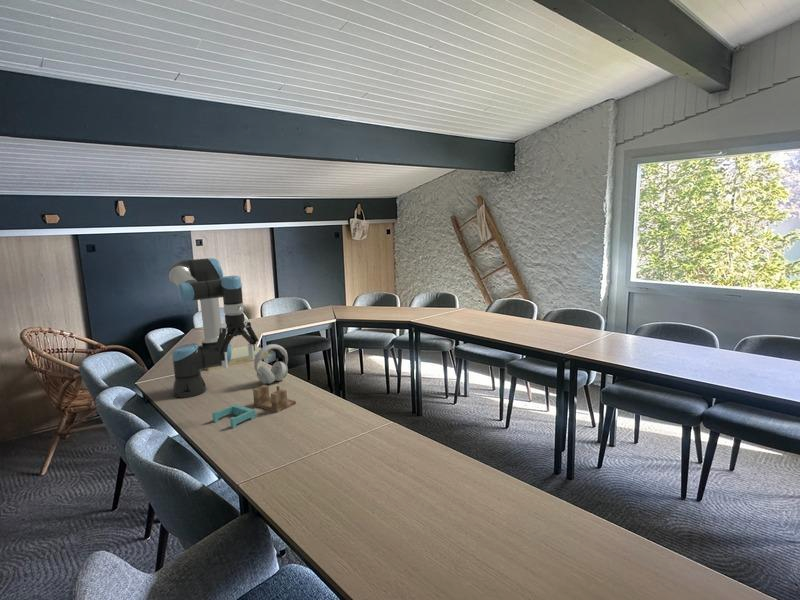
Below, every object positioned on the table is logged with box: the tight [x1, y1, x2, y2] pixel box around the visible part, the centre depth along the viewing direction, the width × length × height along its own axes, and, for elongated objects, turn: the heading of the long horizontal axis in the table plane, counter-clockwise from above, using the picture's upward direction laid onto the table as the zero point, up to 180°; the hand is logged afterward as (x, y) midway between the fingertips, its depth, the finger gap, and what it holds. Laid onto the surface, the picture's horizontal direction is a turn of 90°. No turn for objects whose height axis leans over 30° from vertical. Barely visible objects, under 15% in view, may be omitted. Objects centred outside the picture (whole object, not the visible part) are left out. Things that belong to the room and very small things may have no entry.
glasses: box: [211, 404, 257, 429], centre depth 195 cm, size 11×13×4 cm
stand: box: [252, 384, 297, 413], centre depth 209 cm, size 11×15×8 cm
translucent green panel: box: [206, 344, 269, 371], centre depth 282 cm, size 36×5×24 cm
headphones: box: [253, 343, 289, 385], centre depth 238 cm, size 18×10×20 cm, turn 137°
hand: (238, 363), depth 195 cm, fingers open, 13 cm apart
